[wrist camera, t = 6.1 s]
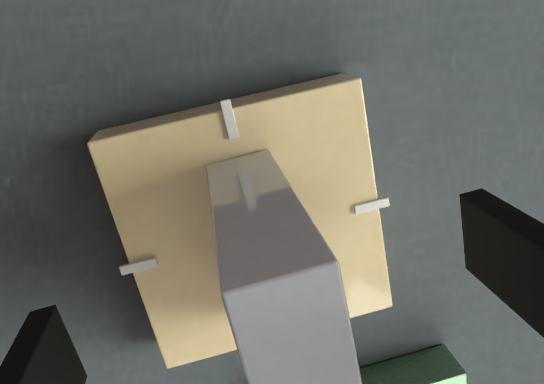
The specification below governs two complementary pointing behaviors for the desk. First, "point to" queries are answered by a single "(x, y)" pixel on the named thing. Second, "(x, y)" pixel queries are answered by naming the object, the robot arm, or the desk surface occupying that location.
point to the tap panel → (197, 212)
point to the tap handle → (278, 278)
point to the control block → (417, 369)
